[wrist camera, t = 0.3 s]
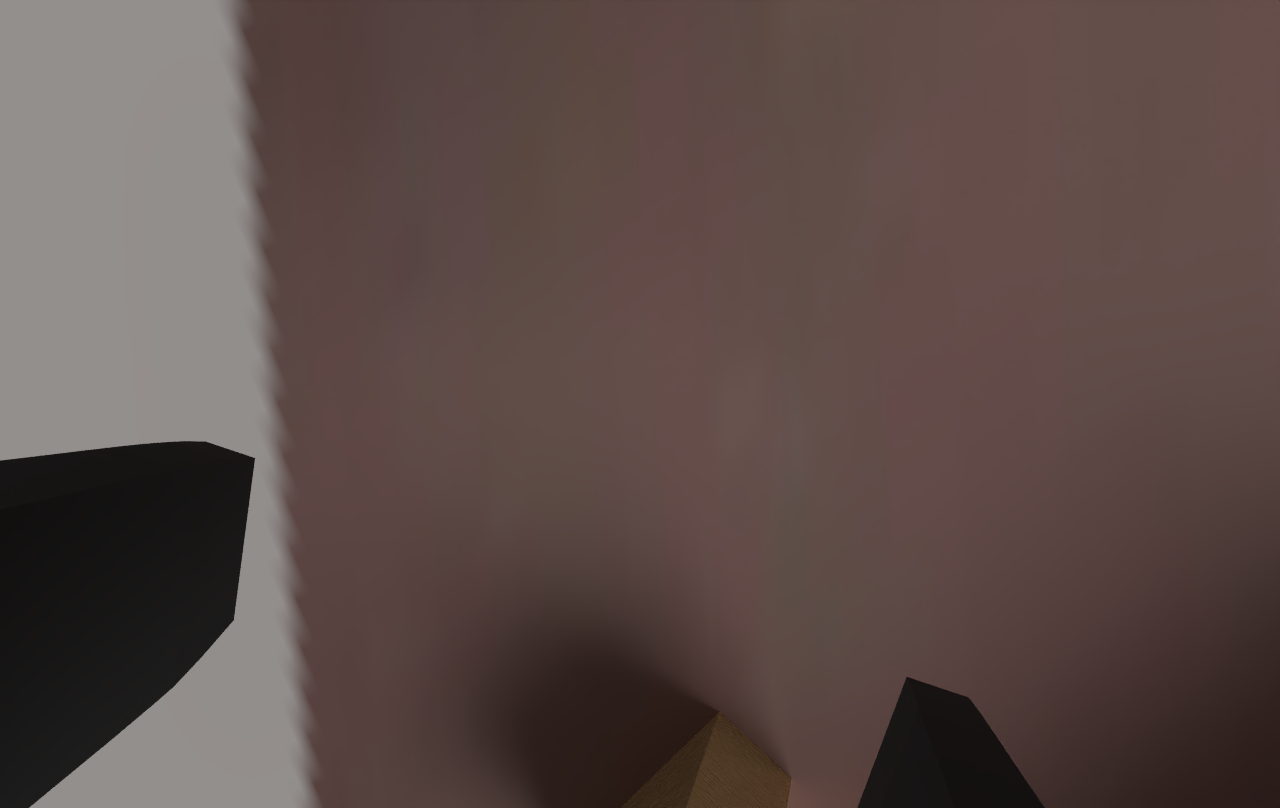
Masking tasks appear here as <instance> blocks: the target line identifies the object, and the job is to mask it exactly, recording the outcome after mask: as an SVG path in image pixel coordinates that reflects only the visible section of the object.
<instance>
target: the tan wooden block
mask: <svg viewBox="0 0 1280 808" xmlns="http://www.w3.org/2000/svg"><path fill="white" fill-rule="evenodd" d="M790 785H791V778H790V777H789V776H788V775H787V774H786V773H785V772H784V771H782V770H781V769H780V768H779V767H778V766H777V765H776V764H775V763H774V762H773V761H772V760H771V759H770V758H769V757H767V756H766V755H765V754H764V753H763V752H762V751H761V750H760V749H759V748H758V747H757V746H756V745H755V744H754V743H752V742H751V741H750V740H749V739H748V738H747V737H746V736H745V735H744V734H743V733H742V732H741V731H740V730H739V729H737V728H736V727H735V726H734V725H733V724H732V723H731V722H730V721H729V720H728V719H727V718H726V717H725V716H724V715H722V714H721V713H720V712H718V713H717V714H716V715H715V716H714V717H713V718H712V719H711V720H710V721H709V722H708V723H707V724H706V725H705V726H704V727H703V728H702V729H701V730H700V731H699V732H698V733H697V734H696V735H695V736H694V737H693V738H692V739H691V740H690V741H688V742H687V743H686V744H685V745H684V746H683V747H682V748H681V749H680V750H679V751H678V752H677V753H676V754H675V755H674V756H673V757H672V758H671V759H670V760H669V761H668V762H667V763H666V764H665V765H664V766H663V767H662V768H661V769H660V770H659V771H658V772H657V773H656V774H655V775H654V776H653V777H651V778H650V779H649V780H648V781H647V782H646V783H645V784H644V785H643V786H642V787H641V788H640V789H639V790H638V791H637V792H636V793H635V794H634V795H633V796H632V797H631V798H630V799H629V800H628V801H627V802H626V803H625V804H624V805H623V806H622V807H621V808H787V802H788V796H789V791H790Z"/></svg>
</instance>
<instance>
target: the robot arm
mask: <svg viewBox="0 0 1280 808" xmlns="http://www.w3.org/2000/svg"><path fill="white" fill-rule="evenodd" d="M254 461H255V458H253V457H249V456H247V455H244V454H241V453H238V452H235V451H232V450H229V449H226V448H223V447H220V446H217V445H214V444H211V443H208V442H194V441H181V442H163V443H150V444H139V445H130V446H120V447H111V448H102V449H94V450H85V451H77V452H69V453H60V454H53V455H44V456H35V457H27V458H19V459H10V460H2V461H0V808H29V807H30V806H31V805H33V804H34V803H35V802H36V801H38V800H39V799H40V798H41V797H42V796H44V795H45V794H46V793H47V792H48V791H50V790H51V789H52V788H53V787H55V786H56V785H57V784H58V783H59V782H61V781H62V780H63V779H64V778H65V777H67V776H68V775H69V774H70V773H71V772H73V771H74V770H75V769H76V768H78V767H79V766H80V765H81V764H82V763H84V762H85V761H86V760H87V759H89V758H90V757H91V756H92V755H93V754H95V753H96V752H97V751H98V750H99V749H101V748H102V747H103V746H104V745H106V744H107V743H108V742H109V741H110V740H111V739H113V738H114V737H115V736H116V735H118V734H119V733H120V732H121V731H122V730H124V729H125V728H126V727H127V726H128V725H129V724H131V723H132V722H133V721H134V720H135V719H136V718H138V717H139V716H140V715H141V714H142V713H143V712H145V711H146V710H147V709H148V708H150V707H151V706H152V705H153V704H154V703H155V702H157V701H158V700H159V699H160V698H161V697H162V696H164V694H166V693H167V692H168V691H169V690H170V689H172V688H173V687H174V686H175V685H176V684H177V682H178V681H179V680H180V679H181V678H182V677H183V676H184V675H185V674H186V673H187V672H188V671H189V670H190V669H191V668H192V667H193V666H194V665H195V663H196V662H197V661H198V660H199V659H200V658H201V657H202V656H203V655H204V654H205V652H206V651H207V650H208V649H209V648H210V647H211V646H212V644H213V643H214V642H215V641H216V640H217V639H218V638H219V636H220V635H221V634H222V633H223V632H224V631H225V629H226V628H227V627H228V626H229V625H230V624H231V623H232V621H233V620H234V614H235V606H236V598H237V591H238V583H239V576H240V575H239V574H240V568H241V560H242V553H243V545H244V538H245V530H246V522H247V514H248V507H249V499H250V492H251V484H252V477H253V469H254ZM858 808H1045V807H1044V806H1043V805H1042V803H1041V802H1040V800H1039V799H1038V797H1037V796H1036V795H1035V793H1034V792H1033V790H1032V789H1031V787H1030V786H1029V784H1028V783H1027V781H1026V780H1025V779H1024V777H1023V776H1022V774H1021V773H1020V771H1019V770H1018V768H1017V767H1016V765H1015V764H1014V762H1013V761H1012V759H1011V758H1010V756H1009V755H1008V753H1007V752H1006V750H1005V749H1004V747H1003V746H1002V744H1001V743H1000V741H999V740H998V738H997V737H996V735H995V734H994V732H993V731H992V730H991V728H990V727H989V725H988V724H987V722H986V721H985V719H984V718H983V716H982V715H981V713H980V712H979V711H978V709H977V708H976V707H975V705H974V704H973V703H972V701H971V700H970V699H969V698H968V697H965V696H962V695H959V694H956V693H953V692H950V691H947V690H944V689H941V688H938V687H935V686H932V685H929V684H926V683H923V682H921V681H918V680H915V679H912V678H909V677H907V678H906V681H905V683H904V686H903V688H902V691H901V694H900V696H899V699H898V702H897V704H896V707H895V710H894V712H893V715H892V718H891V720H890V723H889V726H888V728H887V731H886V734H885V736H884V739H883V742H882V744H881V747H880V750H879V752H878V755H877V758H876V760H875V763H874V766H873V768H872V771H871V774H870V776H869V779H868V782H867V784H866V787H865V789H864V792H863V795H862V797H861V800H860V803H859V805H858Z"/></svg>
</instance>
